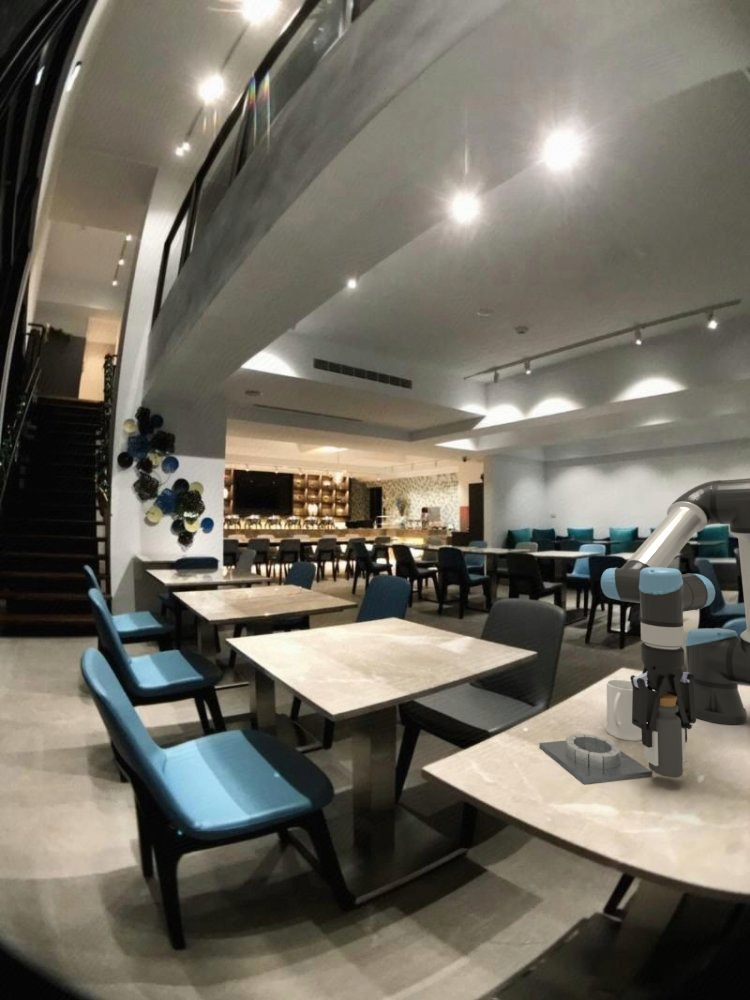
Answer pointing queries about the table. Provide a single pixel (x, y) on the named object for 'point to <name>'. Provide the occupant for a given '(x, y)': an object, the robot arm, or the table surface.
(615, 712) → the mug
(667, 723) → the bottle
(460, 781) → the table surface
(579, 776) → the collar plate
